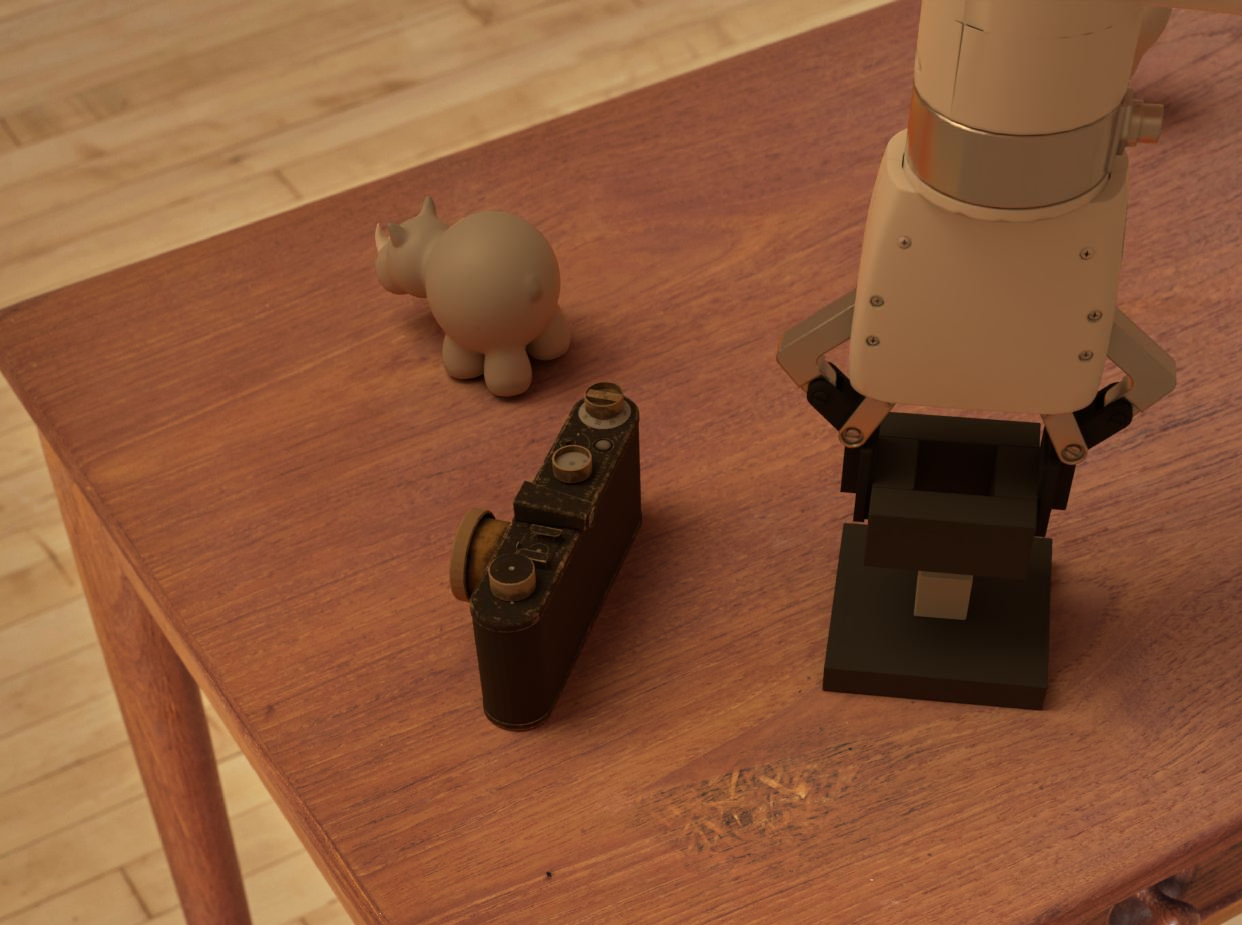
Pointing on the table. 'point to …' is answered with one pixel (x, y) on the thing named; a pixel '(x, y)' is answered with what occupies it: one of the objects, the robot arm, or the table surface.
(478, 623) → the camera
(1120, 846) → the table surface
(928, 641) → the base pad
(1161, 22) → the light bulb
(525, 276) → the chubby cartoon animal
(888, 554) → the black square ring block
